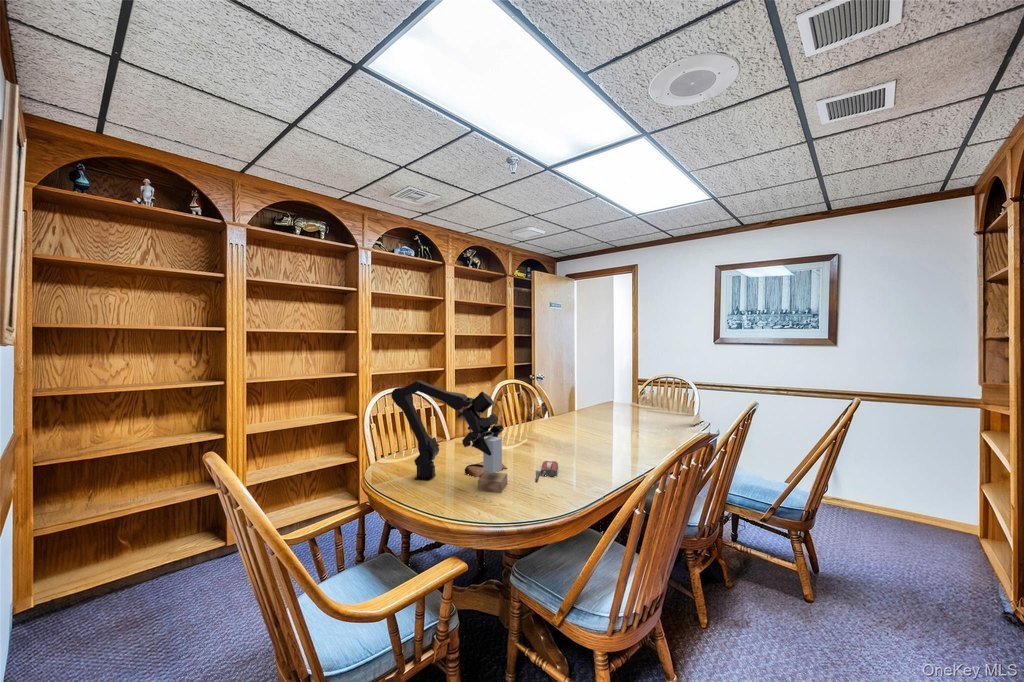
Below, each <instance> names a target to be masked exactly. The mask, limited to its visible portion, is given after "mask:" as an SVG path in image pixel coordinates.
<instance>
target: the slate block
mask: <svg viewBox="0 0 1024 682" xmlns="http://www.w3.org/2000/svg"><path fill="white" fill-rule="evenodd" d="M484 441H485V443H486V445H487V446H488V448H489V450H490V452H491V455H490V456H489V455H487V454H485V453H484V452H482V453H483V454H482V455H483V457H482V458H483V459H482V460H483V461H482V462H483V470H484V471H487V472H491V473H498V472H500V470H501V471H503V470H502V464H503V452H502V451H503V442H502V441H503V439H502V438H501V437H498V438H497V437H493V436H492V437H484Z"/></svg>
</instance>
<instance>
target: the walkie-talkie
mask: <svg viewBox="0 0 1024 682" xmlns="http://www.w3.org/2000/svg"><path fill="white" fill-rule="evenodd" d="M558 469H559V463H558V462H557V461H556V460H555V461H554V460H545V461H542V465H540V466H538V467H536V469H535V479H534V481H535V482H536V481H537V482H538V480H539V477H540V476H541V475H542V476H541V477H551V476H553V477H554V476H556V477H557V476H558V471H559V470H558ZM544 475H546V476H544Z"/></svg>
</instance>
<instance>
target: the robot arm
mask: <svg viewBox="0 0 1024 682" xmlns="http://www.w3.org/2000/svg"><path fill="white" fill-rule="evenodd" d="M418 392H419V393H421V394H425V395H426V396H430V397H433V398H434V399H437V400H439V401H441V402H443V403H444V404H446V405H447V406H448V407H450V408H452V409H453V410H454V411H458V414H457V416H456V417H457V419H462V420H463V419H464V420H465V422H466V424H467V425H468V427H467V429H468V431H470V430H471V432H468V433H467V434H466V435H465V436H464V437H463V439H462V440H461V441H462V445H463V446H464V448H467V447H470V446H471V447H472V448H474V449H477V450H479V451H481V452H482V453H483V452H484V453H485V454H487V455H489V456H490V455H491V452H490V450H489V448H488V446H487V445H486V443H485V441H484V439H485V438H488V437H492V436H493V437H497V438H499V436H500V435H501V433H502V432H503V431H504V430H505V428H504V426H503V424H498V422H499V417H498V415H497V414H496V413H492V414H490V415H489V416H487V417H481V416H480V413H482V414H484V413H485V412H486V411H487V410H488V409H489V408H491V407H492V406H493V405H494V403H495V402H494V400H493V398H492V397H491V396H489V395H488V394H487V393H485V392H484V391H481V392H480V393H479V394H478V395H477V396H476V397H475V398H472V397H468V396H467V395H466V394H464V393H460V392H453V391H448V390H445V389H443V388H440V387H437V386H436V385H433V384H431V383H428V382H425V381H423V380H421V379H420V380H416V381H414V382H413V383H411V384H408V385H406V386H401V387H397V388H394V389H393V390H392V391H391V395H390V396H391V399H392V400H393V402H394V403H395V405H397V406H398V408H400V410H401V411H402V412H403V414H404V416H405V418H406V420H407V423H408V424H409V426H410V428H411V430H412V432H413V434H414V437H415V438H416V439H415V440H416V441H417V450H418V453H419V454H418V455H417V457H416V458H415V459H414V464H415V466H416V476H415V477H414V480H420V481H421V480H422V481H431V479H433V478H434V477H435V476H436V465H435V462H434V460H435V459H436V456H438V454H439V452H440V444H439V443H438V442H437V439H436V437H435V436H434V437H431V436H430V435H429V434H428V432H427V430H426V427H425V426H424V424H423V422H422V419H421V417H420V416H419V414H418V411H417V410H416V408H415V404H414V396H413V394H416V393H418ZM460 410H462V411H460ZM496 424H497V425H496Z"/></svg>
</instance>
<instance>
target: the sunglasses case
mask: <svg viewBox="0 0 1024 682" xmlns="http://www.w3.org/2000/svg"><path fill="white" fill-rule="evenodd" d="M464 468H465V469H464V474H465V473H466V474H465V475H467V474H469V475H468V476H470V475H471V476H470V477H472V476H474V477H473V478H475V477H479V478H480V477H481V476H482V475H483V474H484V473H485V472H487V471H484V470H483V461H481V462H476V463H473V464H469V465H466V467H464ZM507 468H508V467H506V466H505V465H504V463H502V470H501V471H504V470H503V469H505V470H507Z"/></svg>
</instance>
